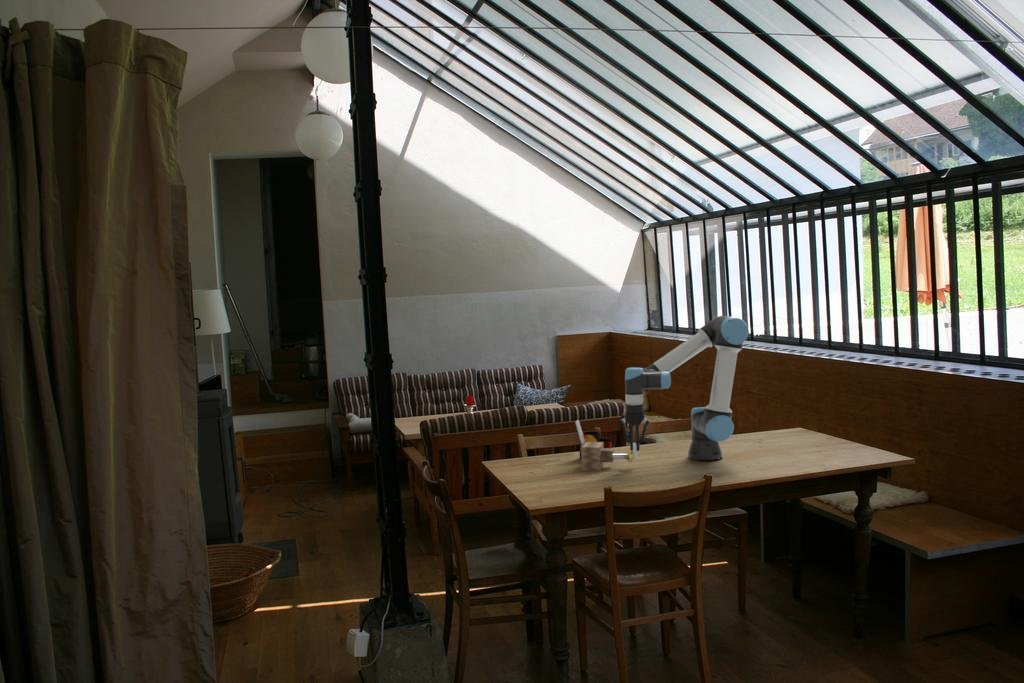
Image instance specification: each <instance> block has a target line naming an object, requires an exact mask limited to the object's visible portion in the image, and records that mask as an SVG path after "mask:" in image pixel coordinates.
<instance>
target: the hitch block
mask: <svg viewBox="0 0 1024 683" xmlns="http://www.w3.org/2000/svg"><path fill="white" fill-rule="evenodd" d="M604 443H605V442H586V441H585V442H584V444H583V443H582V444H581V446H582V447H581V460H580V461H581V462H580V463H581V465H580V466H581V471H593V472H594V471H598V472H600V471H601V470H602V469H603V467H604V465H605V463H613V462H614V461H615V459H613V454H615V448H613V447H611V448H609V447H608V448H607V447H606V448H605V447H604V445H605V444H604Z"/></svg>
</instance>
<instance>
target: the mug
mask: <svg viewBox="0 0 1024 683" xmlns="http://www.w3.org/2000/svg"><path fill="white" fill-rule="evenodd" d="M582 433H583V437H584V440H585V441H586V442H604V443H605V442H606V443H608V448H612V438H611V437H601V432H600V431H595V430H594V431H593V430H591V431H590V430H587V431H582ZM578 439H579V461H581V447H582V446H581V440H580V437H579V436H578ZM583 444H584V443H583Z"/></svg>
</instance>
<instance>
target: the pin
mask: <svg viewBox="0 0 1024 683" xmlns="http://www.w3.org/2000/svg"><path fill="white" fill-rule="evenodd" d="M613 459H614V460H623V461H624V460H625V461H627V460H628V461H627V462H628V463H634V462H635V461H634V460H635V459H633V451H628V453H614V454H613Z"/></svg>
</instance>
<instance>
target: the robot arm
mask: <svg viewBox="0 0 1024 683" xmlns="http://www.w3.org/2000/svg"><path fill="white" fill-rule="evenodd" d="M748 337H749V327H748V324H747V322H746V321H744V319H742V318H740V317H737V316H735V315H733V316H731V315H730V316H727V315H720V316H717V317H714V318H713V319H711V320H709V322H707V323H706V324H704V325H703V326H702V327H700V328H699V329H698V330H697V333H696V334H693V335H692V336H691V337H690V338H688V339H687V340H685V341H684V342H682V343H681V344H679V345H678V346H677V347H675V348H673V349H672V350H670V351H669V352H667V353H666V354H665V355H664V356H661V357H660V358H659V359H658V360H656V361H655V362H653V363H652V364H650V365H648V366H647V367H643V368H642V367H627V368H626V369H625V372H624V373H625V374H624V385H625V386H624V387H625V395H624V396H625V397H624V398H625V403H626V404H625V415H624V417H623V418H621V419H620V420H619V423H620V425H621V427H622V430H623V434H624V438H625V442H627V443H629V444H630V448H629V449H630V452H633V459H634V460H637V459H638V452H640V447H641V446H640V444H641V443H643V442H644V440H645V437H646V432H647V427H648V425H649V424H650V422H651V421H650V419H647V418H646V417H645V414H644V404H643V403H644V390H665V389H669V388H670V387H671V385H672V377H671V372H673V371H674V370H676V369H677V368H679V367H680V366H681V365H683V364H684V363H686V362H687V361H689V360H690V359H692V358H694V357H695V356H696V355H698V354H699V353H700V352H702V351H704V350H705V349H706V348H712V347H713V346H714V347H715V348H716V350H717V351H716V358H715V363H714V364H715V365H714V370H713V378H712V383H711V390H710V396H709V402H708V405H706V406H703V407H701V406H700V407H693V408H692V409H691V411H690V412H691V414H690V416H691V418H690V419H691V423H690V424H691V425H690V426H691V442H690V445H689V447H688V448H689V449H688V452H687V458H688V459H690V460H694V461H699V460H714V459H719V458H721V457H722V458H723V451H722V449H721V445H720V443H719V442H724V441H726V440H728V439H729V438H730V437H732V435H733V433H734V430H735V425H734V422H733V420H732V417H733V410H732V409H731V408H730V404H731V399H732V398H731V397H732V392H733V386H734V379H735V373H736V365H737V360H738V354H739V352H741V351H742V349H743V345H744V342H745V341H746V340H747V339H748ZM626 422H627V424H628V425H629V433H628V429H627V425H626ZM642 422H643V428H642V433H640V425H641V424H642ZM634 426H635V440H634ZM640 434H641V437H640ZM634 441H635V442H634ZM714 461H715V460H714Z"/></svg>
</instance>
